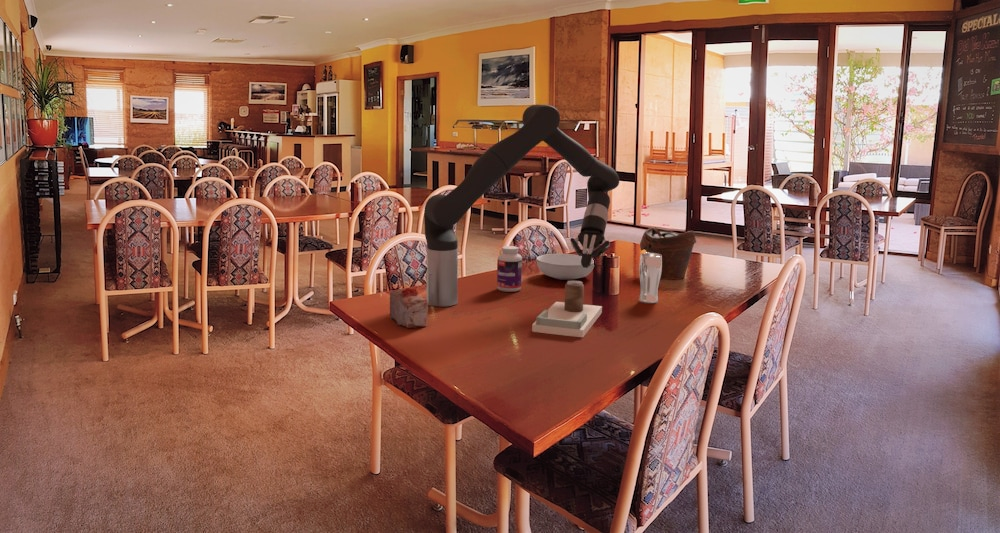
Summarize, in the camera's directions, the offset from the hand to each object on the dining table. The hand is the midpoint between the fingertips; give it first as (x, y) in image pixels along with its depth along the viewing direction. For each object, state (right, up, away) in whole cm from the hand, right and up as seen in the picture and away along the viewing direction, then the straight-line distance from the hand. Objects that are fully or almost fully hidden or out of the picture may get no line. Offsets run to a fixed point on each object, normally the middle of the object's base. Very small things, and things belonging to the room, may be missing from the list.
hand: (585, 266), depth 223 cm
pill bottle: (-23, -8, +19) cm, 31 cm away
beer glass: (+21, -11, +8) cm, 25 cm away
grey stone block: (-52, -16, -20) cm, 58 cm away
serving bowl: (-3, -4, +39) cm, 40 cm away
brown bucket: (+35, -4, +45) cm, 57 cm away
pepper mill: (-5, -13, -11) cm, 18 cm away
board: (-7, -16, -16) cm, 24 cm away
